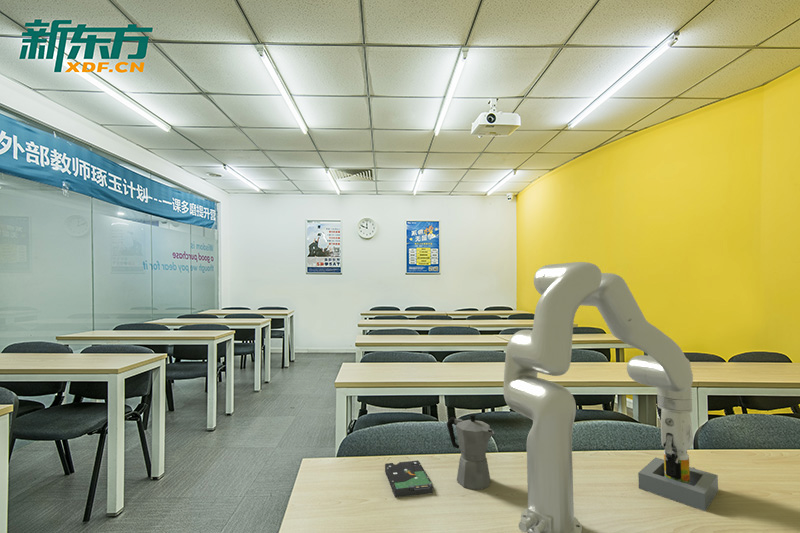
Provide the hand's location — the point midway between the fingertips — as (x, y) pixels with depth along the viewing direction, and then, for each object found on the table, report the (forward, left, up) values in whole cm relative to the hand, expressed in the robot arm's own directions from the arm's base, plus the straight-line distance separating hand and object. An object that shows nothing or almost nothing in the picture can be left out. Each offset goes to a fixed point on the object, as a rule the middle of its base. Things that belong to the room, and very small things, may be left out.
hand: (677, 472), depth 101 cm
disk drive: (-50, +50, -5) cm, 71 cm away
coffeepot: (-37, +39, -5) cm, 54 cm away
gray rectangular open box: (+5, 0, -4) cm, 6 cm away
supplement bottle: (0, 0, -2) cm, 2 cm away
